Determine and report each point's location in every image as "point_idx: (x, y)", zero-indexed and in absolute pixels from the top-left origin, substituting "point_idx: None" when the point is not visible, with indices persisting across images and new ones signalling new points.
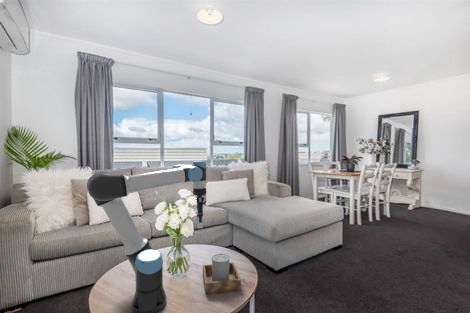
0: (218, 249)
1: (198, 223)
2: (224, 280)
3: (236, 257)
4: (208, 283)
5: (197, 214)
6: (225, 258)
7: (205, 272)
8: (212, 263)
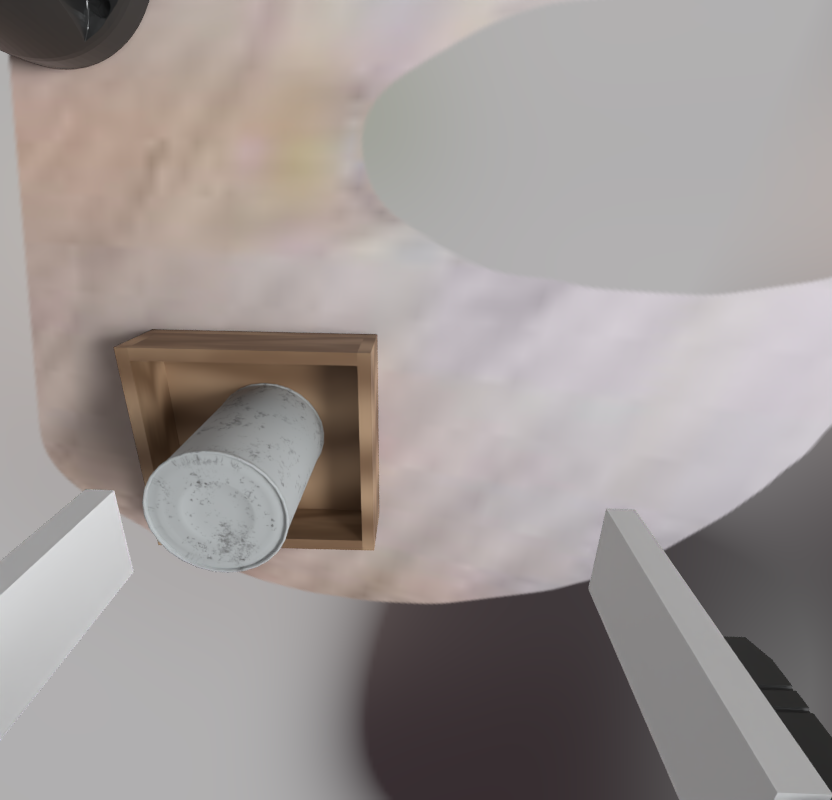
0: (717, 483)
1: (6, 572)
2: (150, 461)
3: (547, 563)
4: (118, 365)
5: (674, 646)
6: (204, 543)
7: (258, 361)
8: (206, 437)
